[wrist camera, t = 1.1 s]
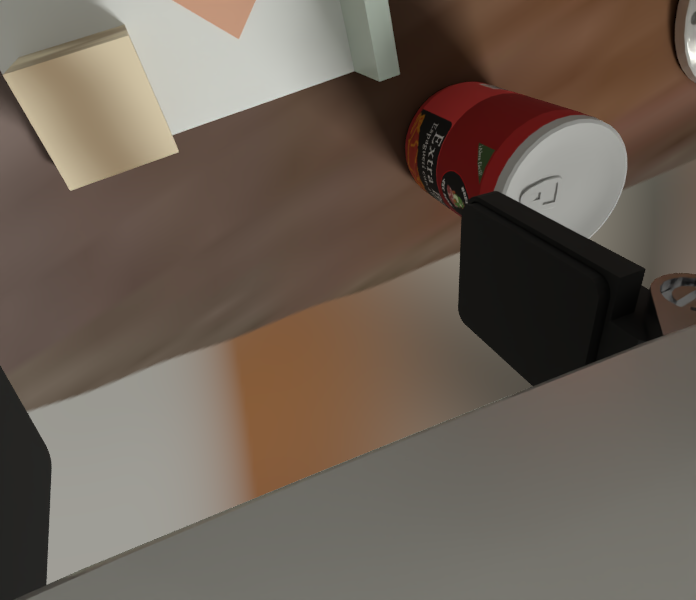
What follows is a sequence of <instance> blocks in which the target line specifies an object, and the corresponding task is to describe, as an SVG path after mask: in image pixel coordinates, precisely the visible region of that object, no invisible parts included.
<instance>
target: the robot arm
mask: <svg viewBox="0 0 696 600" xmlns="http://www.w3.org/2000/svg"><path fill="white" fill-rule="evenodd" d="M675 46H676V52H677V58H678V60H679V63H680V65H681V68H682V70H683V71H684V73H685V74H686V75H687V77H688V78H689V79H691V80H692V81H694V82H695V83H696V0H679V3H678V8H677V15H676V21H675ZM644 273H645V269H644V268H643V267H641V266H639V265H637V264H635V263H633V262H631V261H629V260H627V259H626V258H624V257H622V256H620V255H618V254H616V253H614V252H612V251H611V250H609V249H607V248H605V247H603V246H601V245H599V244H597V243H595V242H594V241H592V240H590V239H588V238H586V237H584V236H582V235H580V234H578V233H576V232H575V231H573V230H571V229H569V228H567V227H565V226H563V225H561V224H559V223H558V222H556V221H554V220H552V219H550V218H548V217H546V216H544V215H542V214H540V213H539V212H537V211H535V210H533V209H531V208H529V207H527V206H525V205H523V204H522V203H520V202H518V201H516V200H514V199H512V198H510V197H508V196H506V195H504V194H503V193H501V192H498V191H492V192H489V193H485V194H481V195H478V196H474V197H471V198H470V199H469V201H468V203H467V205H466V206H464V208H463V210H462V220H461V247H460V275H459V303H458V311H459V315H460V317H461V319H462V321H463V322H464V324H465V325H466V326H468V327H469V328H470V329H471V330H472V331H473V332H474V333H475V334H477V336H479V337H480V338H481V339H482V340H483V341H484V342H485V343H486V344H487V345H488V346H489V347H491V348H492V349H493V350H494V351H495V352H496V353H497V354H498V355H499V356H500V357H502V358H503V359H504V360H505V361H506V362H507V363H508V364H509V365H510V366H511V367H512V368H514V369H515V370H516V371H517V372H518V373H519V374H520V375H521V376H522V377H523V378H524V379H526V380H527V381H528V382H529V383H530V384H531V385H532V386H533V387H530V388H528V389H525V390H523V391H520V392H517V393H515V394H512V395H510V396H507V397H505V398H502V399H500V400H497V401H495V402H492V403H490V404H487V405H485V406H482V407H480V408H477V409H475V410H472V411H470V412H467V413H465V414H462V415H460V416H457V417H455V418H452V419H450V420H447V421H445V422H442V423H440V424H437V425H435V426H432V427H430V428H427V429H425V430H423V431H420V432H417V433H415V434H412V435H410V436H407V437H405V438H402V439H400V440H398V441H395V442H393V443H390V444H388V445H385V446H383V447H380V448H378V449H375V450H373V451H370V452H368V453H365V454H363V455H360V456H358V457H355V458H353V459H351V460H348V461H346V462H343V463H340V464H338V465H336V466H333V467H331V468H328V469H326V470H323V471H321V472H318V473H316V474H313V475H311V476H308V477H306V478H304V479H301V480H299V481H296V482H294V483H291V484H289V485H286V486H284V487H282V488H279V489H277V490H274V491H272V492H269V493H267V494H264V495H262V496H259V497H257V498H255V499H252V500H250V501H247V502H245V503H242V504H240V505H237V506H235V507H233V508H230V509H228V510H225V511H223V512H221V513H218V514H215V515H213V516H211V517H208V518H206V519H203V520H201V521H199V522H196V523H194V524H191V525H189V526H186V527H184V528H181V529H179V530H176V531H174V532H172V533H169V534H167V535H164V536H162V537H159V538H157V539H154V540H152V541H150V542H147V543H145V544H142V545H140V546H137V547H135V548H133V549H130V550H128V551H125V552H123V553H121V554H118V555H116V556H113V557H111V558H108V559H106V560H104V561H101V562H99V563H96V564H94V565H91V566H89V567H86V568H84V569H82V570H79V571H78V572H75V573H73V574H70V575H69V576H66V577H64V578H61V579H59V580H57V581H55V582H52V583H50V584H48V585H46V579H47V557H48V556H47V555H48V534H49V511H50V489H51V488H50V487H51V458H50V454H49V451H48V449H47V447H46V445H45V443H44V441H43V440H42V438H41V436H40V434H39V433H38V431H37V429H36V427H35V426H34V424H33V422H32V420H31V419H30V417H29V415H28V413H27V412H26V410H25V408H24V406H23V405H22V403H21V401H20V399H19V398H18V396H17V394H16V392H15V391H14V389H13V387H12V385H11V384H10V382H9V380H8V378H7V377H6V375H5V373H4V371H3V370H2V368H1V366H0V600H696V274H689V273H674V274H668V275H663V276H661V277H659V278H656V279H655V280H654V281H653V282H652V283H651V286H650V289H649V290H648V289H647V288H645V287H643V286H642V285H641V284H642V281H643V277H644Z"/></svg>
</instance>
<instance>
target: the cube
mask: <svg viewBox="0 0 696 600" xmlns="http://www.w3.org/2000/svg"><path fill="white" fill-rule="evenodd" d="M3 76H4V78H5V80H6V82H7V83H8V85H9V87H10V88H11V90H12V92H13V94H14V95H15V97H16V99H17V100H18V102H19V104H20V106H21V107H22V109H23V111H24V112H25V114H26V116H27V117H28V119H29V121H30V123H31V124H32V126H33V128H34V129H35V131H36V133H37V135H38V136H39V138H40V140H41V141H42V143H43V145H44V147H45V148H46V150H47V152H48V153H49V155H50V157H51V159H52V160H53V162H54V164H55V165H56V167H57V169H58V170H59V172H60V174H61V176H62V177H63V179H64V181H65V182H66V184H67V186H68V188H69V189H70V191H71V190H74V189H77V188H80V187H82V186H85V185H88V184H91V183H94V182H96V181H99V180H102V179H105V178H108V177H110V176H113V175H116V174H119V173H122V172H124V171H127V170H130V169H133V168H136V167H138V166H141V165H144V164H147V163H150V162H152V161H155V160H158V159H161V158H164V157H166V156H169V155H172V154H175V153H178V152H179V151H178V148H177V146H176V143H175V141H174V138H173V136H172V134H171V131H170V129H169V126H168V124H167V121H166V119H165V117H164V115H163V112H162V110H161V108H160V105H159V103H158V101H157V98H156V96H155V94H154V91H153V89H152V87H151V85H150V82H149V80H148V78H147V75H146V73H145V71H144V68H143V66H142V64H141V61H140V59H139V57H138V55H137V52H136V50H135V48H134V45H133V43H132V41H131V38H130V36H129V34H128V31H127V29H126V27H125V24H124V25H121V26H118V27H115V28H112V29H108V30H105V31H102V32H99V33H95V34H92V35H89V36H86V37H83V38H79V39H76V40H73V41H70V42H66V43H63V44H60V45H57V46H54V47H50V48H47V49H44V50H41V51H37V52H34V53H31V54H28V55H24V56H21V57H18V59H17V60H16V61H15V62H14V63H13V64H12V65H11V66H10V67H9V68H8V70H7V71H6V72H5V73H4V74H3Z"/></svg>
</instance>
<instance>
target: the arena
mask: <svg viewBox="0 0 696 600" xmlns="http://www.w3.org/2000/svg"><path fill="white" fill-rule="evenodd" d="M124 24H125V27H126V29H127V31H128V34H129V36H130V38H131V41H132V43H133V45H134V48H135V50H136V52H137V55H138V57H139V59H140V61H141V64H142V66H143V68H144V71H145V73H146V75H147V78H148V80H149V82H150V85H151V87H152V89H153V91H154V94H155V96H156V98H157V101H158V103H159V105H160V108H161V110H162V112H163V115H164V117H165V119H166V121H167V124H168V126H169V129H170V131H171V134H172V135H174V134H177V133H180V132H183V131H185V130H188V129H191V128H194V127H197V126H200V125H203V124H205V123H208V122H211V121H214V120H217V119H220V118H222V117H225V116H228V115H231V114H234V113H237V112H240V111H242V110H245V109H248V108H251V107H254V106H257V105H260V104H262V103H265V102H268V101H271V100H274V99H277V98H280V97H282V96H285V95H288V94H291V93H294V92H297V91H300V90H302V89H305V88H308V87H311V86H314V85H317V84H319V83H322V82H325V81H328V80H331V79H334V78H337V77H339V76H342V75H345V74H348V73H351V72H354V71H355V72H358V73H360V74H362V75H365V76H367V77H369V78H372V79H374V80H376V81H379V82H380V81H383V80H386V79H389V78H392V77H394V76H397V75H400V71H399V65H398V59H397V53H396V46H395V40H394V34H393V28H392V22H391V16H390V10H389V4H388V0H0V71H1V73H2V74H4V73H5V72H6V71H7V70H8V68H9V67H10V66H11V65H12V64H13V63H14V62H15V61H16V60H17V59H18V57H21V56H24V55H28V54H31V53H34V52H37V51H41V50H44V49H47V48H50V47H54V46H57V45H60V44H63V43H66V42H70V41H73V40H76V39H79V38H83V37H86V36H89V35H92V34H95V33H99V32H102V31H105V30H108V29H112V28H115V27H118V26H121V25H124Z"/></svg>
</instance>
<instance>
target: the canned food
mask: <svg viewBox="0 0 696 600" xmlns="http://www.w3.org/2000/svg"><path fill="white" fill-rule="evenodd" d="M405 154H406V161H407V164H408V167H409V170H410V172H411V174H412V176H413V178H414V180H415V181H416V183H417V184H418V185H419V186H420V187H421V188H422V189H423V190H424V191H426V192H427V193H429V194H430V195H431V196H433V197H434V198H435V199H437V200H438V201H440V202H441V203H442V204H444V205H445V206H447V207H448V208H449V209H451V210H452V211H454V212H455V213H456V214H458V215H459V216H461V217H462V210H463V208H464V206H466V205H467V203H468V201H469V199H470V198H471V197H474V196H478V195H481V194H485V193H489V192H492V191H498V192H501V193H503V194H504V195H506V196H508V197H510V198H512V199H514V200H516V201H518V202H520V203H522V204H523V205H525V206H527V207H529V208H531V209H533V210H535V211H537V212H539V213H540V214H542V215H544V216H546V217H548V218H550V219H552V220H554V221H556V222H558V223H559V224H561V225H563V226H565V227H567V228H569V229H571V230H573V231H575V232H576V233H578V234H580V235H582V236H584V237H586V238H588V239H589V238H590V237H591V236H592V235H593V234H595V232H597V231H598V229H599V228H600V227H601V226H602V225H603V223H604V222H605V221H606V220H607V218H608V217H609V215H610V214H611V212H612V211H613V209H614V207H615V206H616V203H617V201H618V199H619V197H620V195H621V192H622V189H623V186H624V183H625V179H626V172H627V154H626V149H625V145H624V142H623V141H622V139H621V137H620V135H619V133H618V132H617V131H616V130H615V129H614V128H613V127H612V126H610V125H608V124H607V123H605V122H603V121H600V120H599V119H597V118H595V117H592V116H589V115H586V114H583V113H580V112H578V111H574V110H571V109H568V108H564V107H561V106H558V105H555V104H551V103H548V102H545V101H541V100H538V99H535V98H531V97H528V96H525V95H522V94H518V93H515V92H512V91H508V90H505V89H502V88H498V87H495V86H492V85H489V84H485V83H480V82H463V83H459V84H455V85H451V86H448V87H446V88H444V89H441V90H439V91H438V92H436V93H435V94H434V95H432V96H431V97H429V98H428V99H427V101H426V102H425V103H424V104H423V105H422V106H421V107H420V108H419V110H418V111H417V113H416V114H415V116H414V118H413V120H412V122H411V124H410V126H409V129H408V133H407V136H406V144H405Z"/></svg>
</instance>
